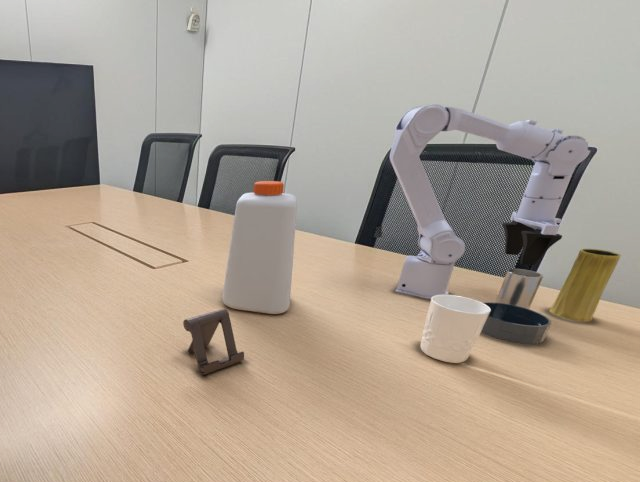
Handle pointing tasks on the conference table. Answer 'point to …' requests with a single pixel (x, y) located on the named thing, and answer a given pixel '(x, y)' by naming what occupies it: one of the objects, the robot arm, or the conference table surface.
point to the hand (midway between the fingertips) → (519, 259)
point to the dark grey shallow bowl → (515, 324)
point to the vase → (585, 284)
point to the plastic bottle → (261, 250)
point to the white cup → (453, 327)
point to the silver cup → (519, 287)
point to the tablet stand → (203, 333)
